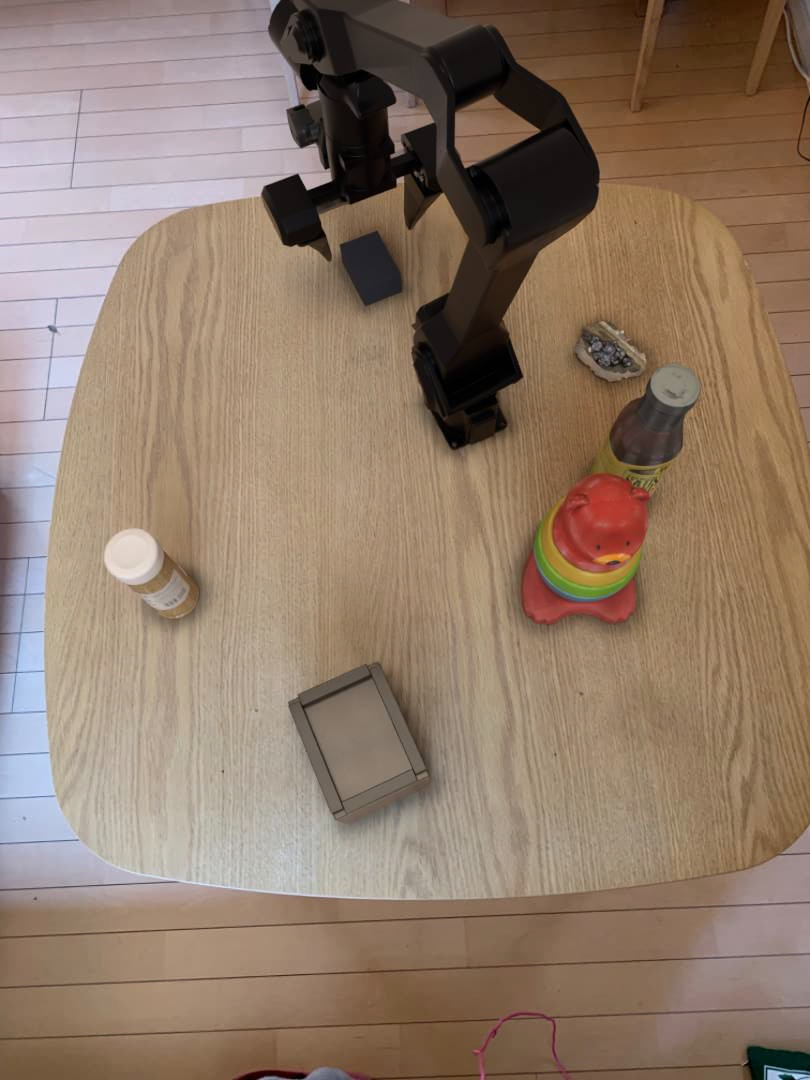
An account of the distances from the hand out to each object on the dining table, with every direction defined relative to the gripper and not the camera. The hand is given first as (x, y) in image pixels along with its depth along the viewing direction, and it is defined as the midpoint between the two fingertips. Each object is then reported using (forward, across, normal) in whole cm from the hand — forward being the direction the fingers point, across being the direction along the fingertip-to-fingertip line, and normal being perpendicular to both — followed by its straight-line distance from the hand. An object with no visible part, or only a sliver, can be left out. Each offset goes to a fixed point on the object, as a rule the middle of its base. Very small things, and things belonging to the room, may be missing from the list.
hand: (368, 242), depth 89 cm
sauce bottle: (+6, -12, +34) cm, 36 cm away
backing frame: (+6, +21, +47) cm, 52 cm away
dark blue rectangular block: (+6, 0, 0) cm, 6 cm away
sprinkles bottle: (+6, +32, +26) cm, 42 cm away
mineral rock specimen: (+6, -19, +20) cm, 28 cm away
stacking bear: (+6, -4, +40) cm, 41 cm away
